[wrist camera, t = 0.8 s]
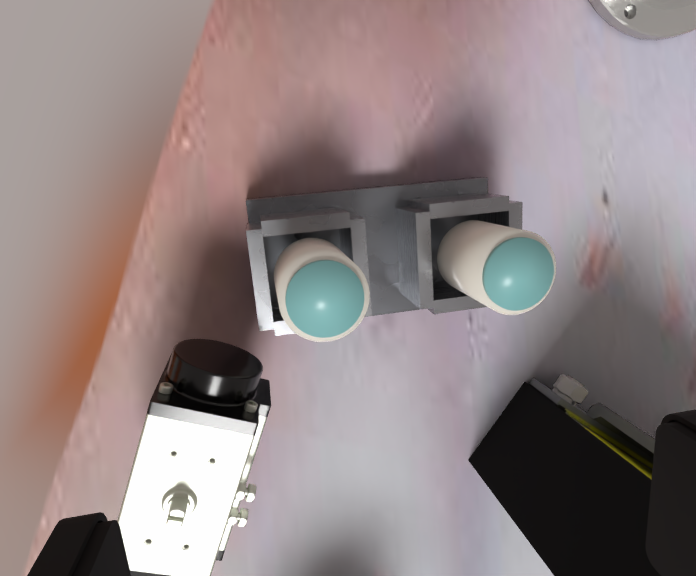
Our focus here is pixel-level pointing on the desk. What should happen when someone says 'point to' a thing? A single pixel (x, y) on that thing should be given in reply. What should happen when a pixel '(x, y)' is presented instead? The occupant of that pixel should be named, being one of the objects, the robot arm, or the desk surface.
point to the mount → (375, 239)
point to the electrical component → (572, 480)
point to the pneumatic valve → (194, 460)
